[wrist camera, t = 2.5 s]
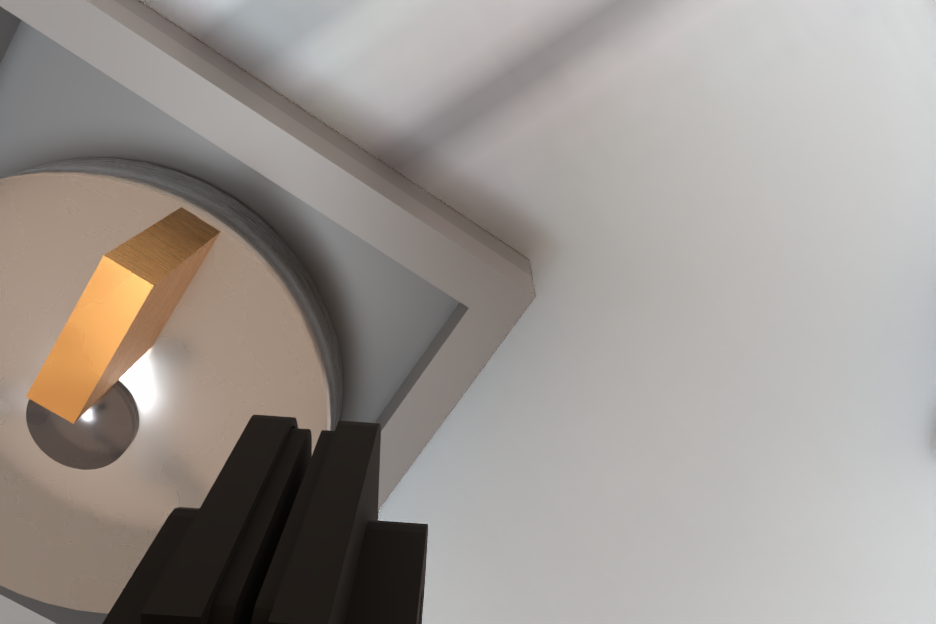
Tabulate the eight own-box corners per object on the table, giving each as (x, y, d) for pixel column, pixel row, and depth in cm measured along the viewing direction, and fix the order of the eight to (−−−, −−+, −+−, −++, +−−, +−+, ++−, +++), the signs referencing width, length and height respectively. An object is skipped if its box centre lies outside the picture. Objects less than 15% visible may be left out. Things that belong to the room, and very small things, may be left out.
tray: (239, 660, 34) (207, 745, 30) (-192, 429, 32) (-292, 490, 27) (529, 259, 29) (536, 299, 25) (39, -66, 26) (-44, -81, 22)
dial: (214, 623, 31) (127, 817, 24) (-154, 424, 29) (-381, 569, 21) (425, 320, 27) (403, 436, 20) (20, 62, 25) (-183, 82, 17)
